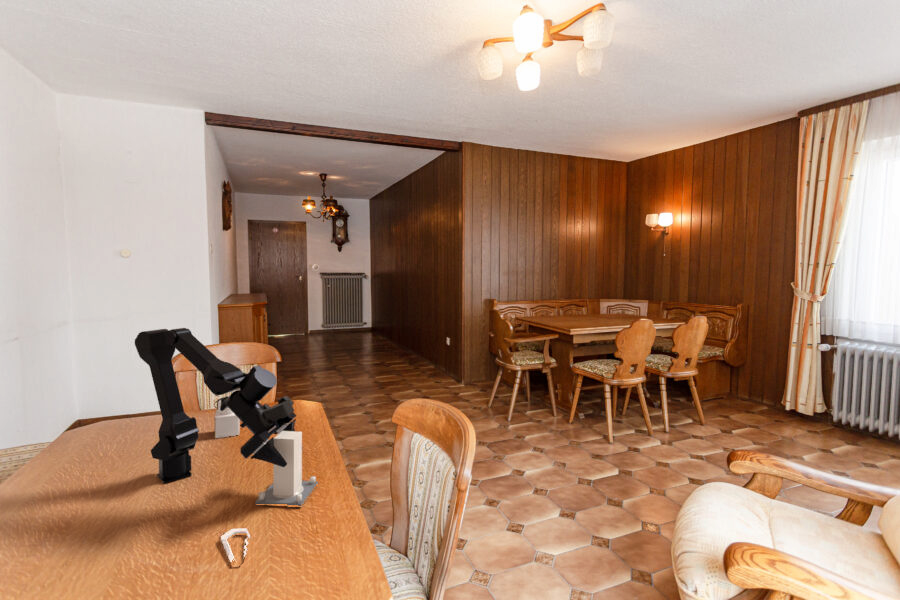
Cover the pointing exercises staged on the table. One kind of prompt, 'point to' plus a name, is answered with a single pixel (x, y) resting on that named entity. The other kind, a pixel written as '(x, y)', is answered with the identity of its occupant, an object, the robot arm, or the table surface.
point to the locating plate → (297, 499)
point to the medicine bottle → (225, 422)
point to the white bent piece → (226, 544)
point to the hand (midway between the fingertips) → (293, 457)
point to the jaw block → (288, 463)
